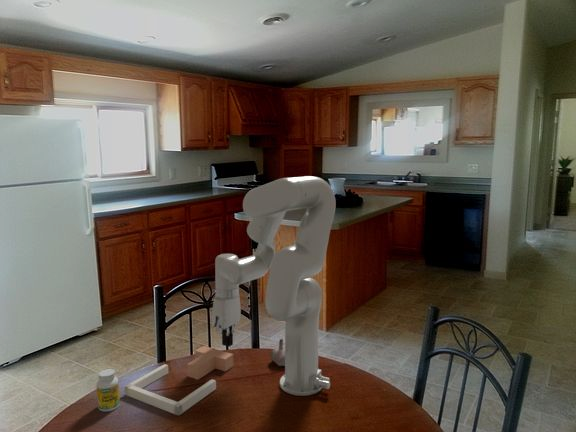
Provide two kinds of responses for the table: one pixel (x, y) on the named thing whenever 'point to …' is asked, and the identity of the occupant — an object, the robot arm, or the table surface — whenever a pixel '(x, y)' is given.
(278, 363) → the garlic bulb
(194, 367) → the t block
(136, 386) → the frame
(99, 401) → the supplement bottle
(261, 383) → the table surface
